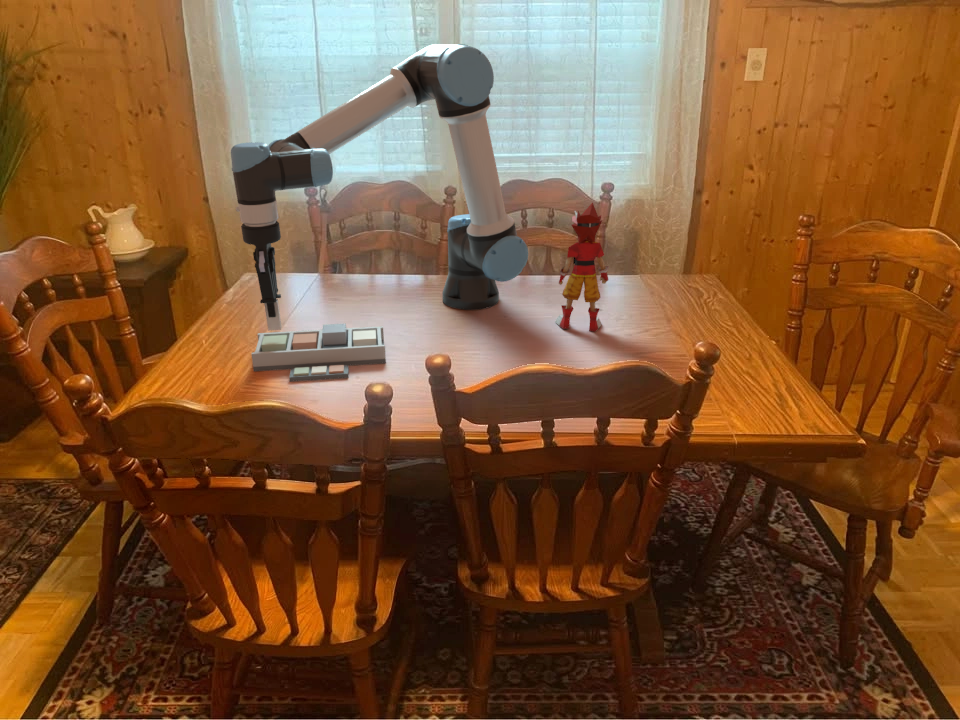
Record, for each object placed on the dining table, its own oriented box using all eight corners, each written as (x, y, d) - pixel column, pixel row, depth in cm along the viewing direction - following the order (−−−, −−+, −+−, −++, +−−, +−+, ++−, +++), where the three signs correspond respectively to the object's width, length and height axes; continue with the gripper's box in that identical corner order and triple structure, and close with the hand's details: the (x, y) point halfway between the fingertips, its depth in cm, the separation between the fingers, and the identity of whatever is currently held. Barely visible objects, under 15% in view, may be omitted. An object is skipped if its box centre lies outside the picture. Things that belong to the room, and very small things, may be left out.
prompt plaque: (348, 369, 158) (348, 363, 157) (348, 377, 154) (347, 371, 153) (291, 372, 156) (290, 366, 155) (289, 381, 152) (289, 375, 151)
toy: (599, 318, 185) (608, 199, 173) (608, 332, 177) (618, 208, 164) (552, 319, 184) (558, 200, 172) (559, 333, 176) (565, 209, 164)
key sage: (288, 346, 164) (287, 334, 163) (286, 355, 160) (285, 343, 159) (265, 347, 164) (264, 336, 163) (262, 356, 159) (261, 345, 158)
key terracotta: (318, 344, 165) (316, 333, 164) (317, 353, 161) (315, 341, 160) (295, 346, 165) (294, 334, 163) (293, 355, 160) (292, 343, 159)
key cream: (376, 341, 167) (375, 330, 166) (376, 350, 163) (376, 338, 161) (354, 342, 166) (353, 331, 165) (353, 351, 162) (353, 339, 161)
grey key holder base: (383, 341, 171) (382, 326, 170) (385, 363, 160) (384, 346, 159) (260, 349, 167) (258, 332, 166) (253, 371, 157) (251, 354, 155)
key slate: (346, 335, 165) (345, 323, 164) (346, 343, 161) (345, 331, 160) (324, 336, 165) (323, 324, 164) (323, 345, 160) (322, 333, 159)
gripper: (245, 215, 155) (260, 319, 165) (236, 231, 143) (253, 341, 153) (281, 213, 156) (294, 316, 166) (275, 229, 144) (290, 339, 154)
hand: (274, 328), depth 160 cm, fingers closed
